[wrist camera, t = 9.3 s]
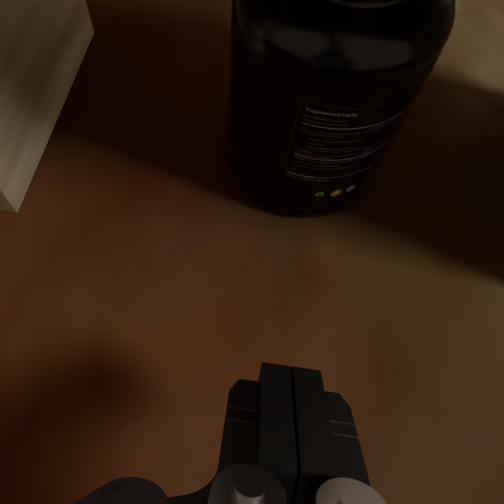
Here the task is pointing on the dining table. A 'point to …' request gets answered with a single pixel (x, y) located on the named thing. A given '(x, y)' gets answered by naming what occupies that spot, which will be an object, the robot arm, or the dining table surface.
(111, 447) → the dining table surface
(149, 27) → the dining table surface
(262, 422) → the robot arm
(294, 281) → the dining table surface
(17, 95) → the riser
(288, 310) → the dining table surface
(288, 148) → the supplement bottle
